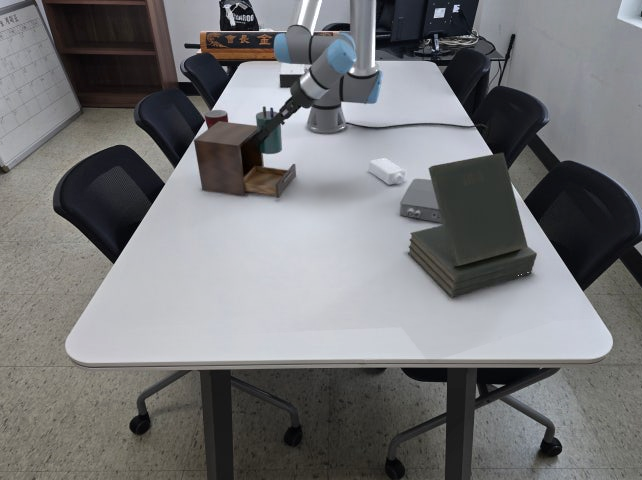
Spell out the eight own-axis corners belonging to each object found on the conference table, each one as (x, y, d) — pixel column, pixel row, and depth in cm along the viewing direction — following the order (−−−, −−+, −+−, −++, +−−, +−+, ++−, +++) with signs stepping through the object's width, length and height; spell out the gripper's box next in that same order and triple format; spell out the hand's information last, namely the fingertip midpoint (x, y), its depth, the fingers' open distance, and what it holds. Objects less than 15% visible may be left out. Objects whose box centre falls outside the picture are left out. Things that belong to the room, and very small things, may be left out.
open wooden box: (264, 174, 162) (260, 126, 152) (244, 196, 149) (238, 145, 140) (225, 168, 164) (219, 121, 155) (202, 189, 152) (193, 139, 142)
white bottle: (390, 188, 155) (391, 175, 152) (368, 172, 164) (369, 160, 161) (407, 183, 157) (408, 171, 155) (384, 168, 166) (385, 156, 164)
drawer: (297, 176, 158) (296, 164, 156) (280, 198, 147) (279, 185, 144) (256, 170, 161) (255, 158, 159) (236, 191, 149) (235, 178, 147)
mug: (223, 148, 178) (220, 120, 172) (202, 146, 179) (198, 119, 173) (233, 137, 186) (230, 110, 180) (213, 135, 187) (209, 109, 181)
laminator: (303, 87, 237) (303, 74, 233) (278, 87, 236) (277, 74, 232) (304, 68, 264) (304, 56, 260) (281, 68, 263) (281, 56, 259)
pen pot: (282, 144, 152) (279, 102, 145) (282, 154, 147) (279, 110, 139) (259, 145, 152) (255, 102, 144) (258, 154, 146) (254, 110, 139)
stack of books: (450, 298, 112) (469, 200, 97) (407, 253, 126) (418, 161, 111) (531, 275, 119) (560, 180, 104) (481, 234, 134) (501, 146, 118)
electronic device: (474, 233, 134) (478, 217, 131) (397, 218, 140) (398, 202, 137) (483, 201, 148) (486, 186, 145) (413, 189, 154) (414, 174, 151)
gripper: (310, 68, 142) (263, 118, 155) (286, 88, 127) (235, 142, 140) (328, 89, 144) (279, 136, 157) (306, 111, 129) (254, 162, 142)
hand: (259, 139), depth 148 cm, fingers closed on pen pot, 7 cm apart
